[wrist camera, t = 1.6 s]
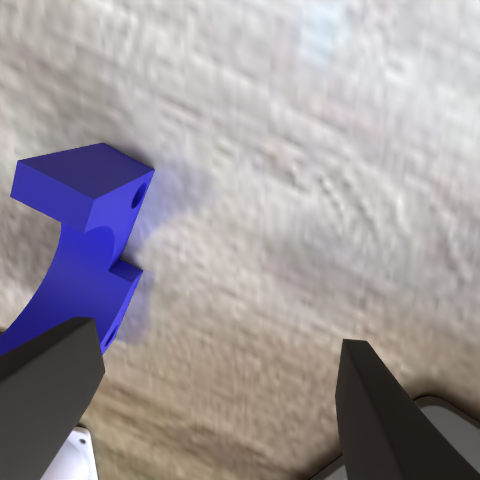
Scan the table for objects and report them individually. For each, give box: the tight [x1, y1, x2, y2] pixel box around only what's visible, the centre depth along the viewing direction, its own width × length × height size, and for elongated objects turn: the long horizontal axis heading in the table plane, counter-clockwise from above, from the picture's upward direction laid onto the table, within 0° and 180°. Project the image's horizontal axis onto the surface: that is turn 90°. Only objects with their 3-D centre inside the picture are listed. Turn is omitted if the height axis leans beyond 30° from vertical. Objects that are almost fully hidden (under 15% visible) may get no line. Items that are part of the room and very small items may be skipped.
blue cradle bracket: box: [0, 143, 155, 356], centre depth 17 cm, size 12×4×6 cm, turn 153°
